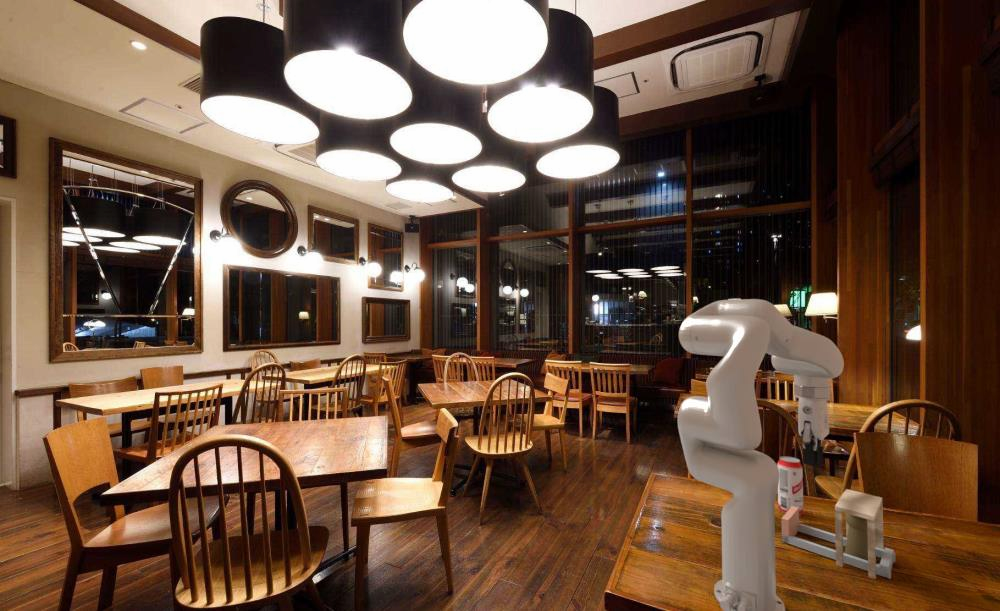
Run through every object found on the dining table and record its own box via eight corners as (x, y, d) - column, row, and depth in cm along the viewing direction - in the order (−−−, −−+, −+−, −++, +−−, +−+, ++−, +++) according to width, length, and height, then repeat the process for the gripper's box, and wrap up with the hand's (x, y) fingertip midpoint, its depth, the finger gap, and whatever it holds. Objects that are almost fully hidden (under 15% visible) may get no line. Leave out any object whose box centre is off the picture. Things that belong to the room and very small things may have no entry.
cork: (883, 568, 97) (882, 521, 97) (854, 565, 98) (853, 519, 98) (866, 554, 103) (865, 509, 103) (838, 551, 104) (837, 507, 104)
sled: (895, 560, 100) (894, 535, 100) (890, 578, 93) (889, 551, 93) (792, 527, 115) (792, 505, 115) (781, 541, 108) (781, 518, 108)
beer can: (773, 510, 126) (772, 457, 127) (786, 506, 129) (785, 454, 129) (795, 519, 120) (794, 464, 121) (808, 514, 123) (807, 460, 123)
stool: (883, 554, 103) (882, 497, 103) (875, 579, 93) (874, 516, 93) (847, 542, 108) (846, 488, 108) (836, 565, 98) (834, 505, 99)
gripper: (822, 398, 100) (823, 475, 99) (836, 390, 111) (837, 458, 111) (785, 394, 105) (787, 466, 105) (802, 386, 117) (803, 452, 116)
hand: (813, 461), depth 108 cm, fingers open, 4 cm apart
